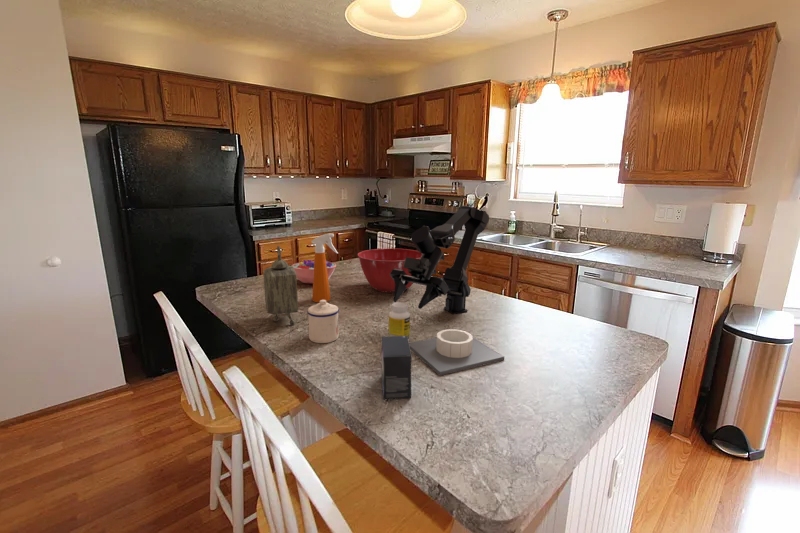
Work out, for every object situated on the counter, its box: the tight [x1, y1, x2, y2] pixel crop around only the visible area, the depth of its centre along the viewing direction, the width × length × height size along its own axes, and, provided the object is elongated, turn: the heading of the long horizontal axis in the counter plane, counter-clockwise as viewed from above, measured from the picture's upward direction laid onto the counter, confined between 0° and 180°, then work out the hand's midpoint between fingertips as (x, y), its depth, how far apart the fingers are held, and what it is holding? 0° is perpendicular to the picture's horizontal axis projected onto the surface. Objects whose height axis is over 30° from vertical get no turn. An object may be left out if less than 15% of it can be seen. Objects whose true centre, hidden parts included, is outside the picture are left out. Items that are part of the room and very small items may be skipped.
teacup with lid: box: [307, 300, 340, 344], centre depth 114 cm, size 12×9×12 cm
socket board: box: [409, 328, 505, 377], centre depth 105 cm, size 20×18×5 cm
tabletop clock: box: [262, 245, 299, 326], centre depth 124 cm, size 14×9×25 cm, turn 23°
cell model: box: [291, 259, 337, 285], centre depth 172 cm, size 17×20×11 cm
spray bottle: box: [310, 232, 339, 304], centre depth 145 cm, size 7×11×26 cm, turn 80°
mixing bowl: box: [357, 248, 422, 294], centre depth 164 cm, size 28×28×15 cm
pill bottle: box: [388, 301, 411, 342], centre depth 112 cm, size 6×6×11 cm
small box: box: [380, 335, 413, 401], centre depth 87 cm, size 11×6×10 cm, turn 5°
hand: (406, 304), depth 113 cm, fingers open, 9 cm apart
